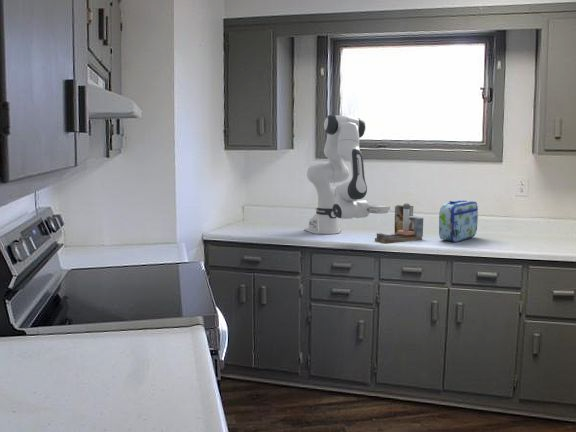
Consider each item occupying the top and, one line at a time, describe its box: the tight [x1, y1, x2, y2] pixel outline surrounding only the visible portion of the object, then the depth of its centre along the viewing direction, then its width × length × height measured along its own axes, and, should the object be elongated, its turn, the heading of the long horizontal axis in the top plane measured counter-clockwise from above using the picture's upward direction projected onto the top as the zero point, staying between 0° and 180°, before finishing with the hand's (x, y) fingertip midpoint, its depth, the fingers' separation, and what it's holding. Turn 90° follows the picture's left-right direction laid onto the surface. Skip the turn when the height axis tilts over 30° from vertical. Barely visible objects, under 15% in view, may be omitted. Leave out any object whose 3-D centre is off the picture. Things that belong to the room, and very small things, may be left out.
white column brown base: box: [397, 202, 415, 235], centre depth 333 cm, size 7×6×16 cm
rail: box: [374, 215, 424, 244], centre depth 331 cm, size 10×25×12 cm, turn 122°
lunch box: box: [438, 199, 479, 243], centre depth 333 cm, size 26×11×21 cm, turn 134°
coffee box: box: [393, 204, 414, 235], centre depth 348 cm, size 9×6×16 cm
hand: (382, 207), depth 323 cm, fingers open, 8 cm apart
